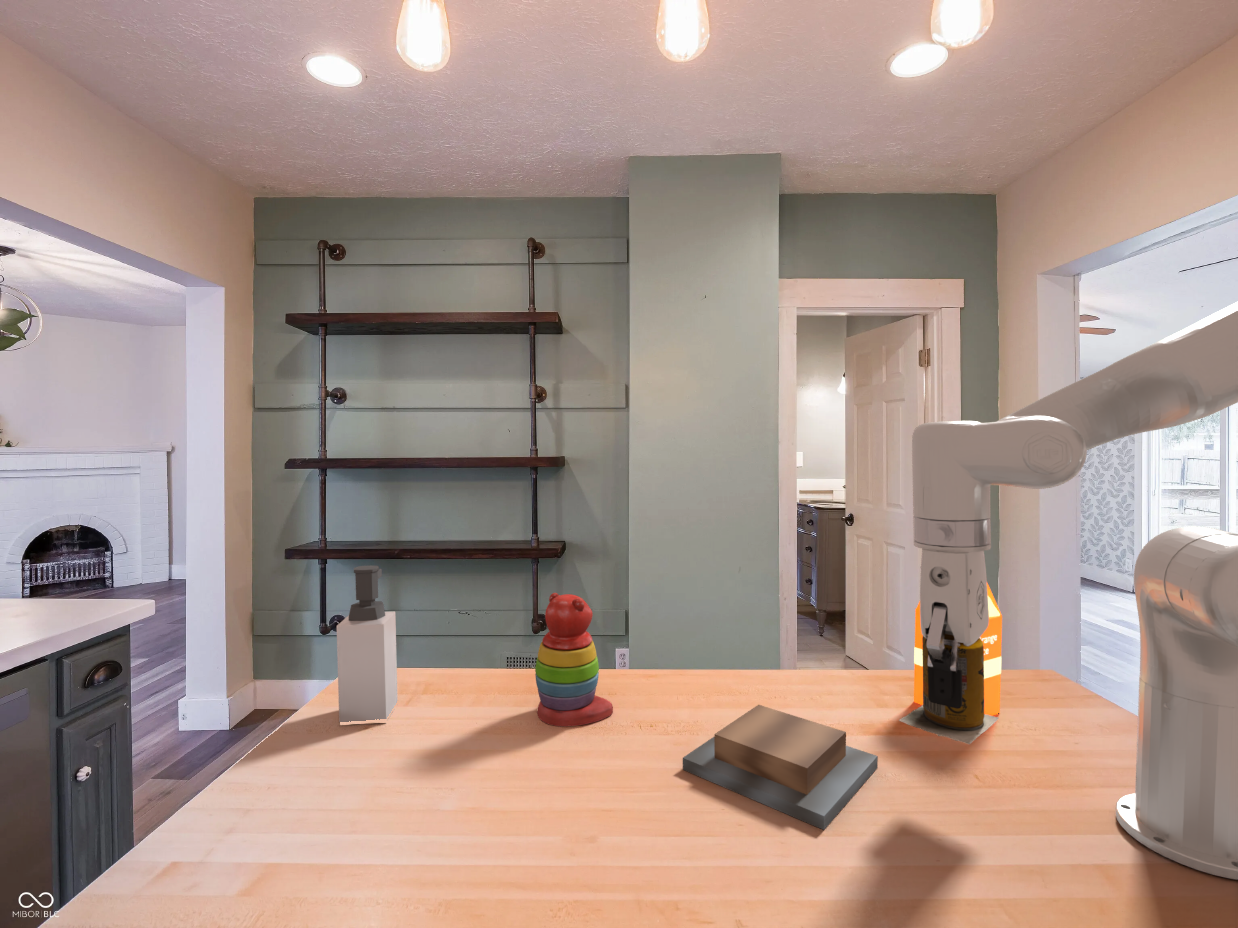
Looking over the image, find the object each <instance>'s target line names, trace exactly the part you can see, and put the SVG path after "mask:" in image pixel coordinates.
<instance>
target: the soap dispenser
mask: <svg viewBox="0 0 1238 928" xmlns="http://www.w3.org/2000/svg"><path fill="white" fill-rule="evenodd" d="M353 573H354V575H355V579H354V580H355V601H358V602H355V603H353V604H351V605H350V608H349V609H350V610H349V613H348V616H346V617H345V618H344V619H343V620H341V622H339V623H338V624H337V625H336V650H337V651H336V654H337V655H336V656H337V659H336V660H337V685H338V689H337V690H338V719H339V721H338V723H339V722H349V721H350V722H351V721H366V720H375V719H376V720H377V719H379V720H380V719H387V717H388V716H389V714H390V713H391V711H392V709H393V708H394V706H395V705H396V703H397V701H399V700H398V668H397V667H398V666H397V663H398V662H397V660H398V659H397V658H398V657H397V626H396V625H397V623H396V622H397V621H396V620H397V619H396V618H397V617H396V615H397V614H396V611H394V610H393V611H385V604H384V603H383V601H381V600H379V601H378V600H376V599H378V598H379V579H380V578H381V577H383V574H382V573H383V571H382V568H380V567H379V565H359V566H356V567H353Z"/></svg>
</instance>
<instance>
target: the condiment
mask: <svg viewBox="0 0 1238 928" xmlns="http://www.w3.org/2000/svg"><path fill="white" fill-rule="evenodd" d="M930 625H931V623H930ZM930 625H929V628H928V630H929V629H930ZM944 639H948V640H954V635H948V634H945V636H944ZM944 646H945V645H944ZM944 649H945V650H948V651H949V653H950V656H951V652H952V647H951V646H945V647H944ZM922 652H923V654H922V655H923V705H920V706H919V707H918V708H916V709H914V710H911V712H909V713H908V714H907V715H905V716H902V718H900V719H899V720H898V721H899V722H901V723H904V724H906V725H908V726H911V727H914V728H916V729H920V730H922V731H925V732H927V733H932V734H934V735H937V737H945V738H948V739H951V740H953V741H957V742H962V743H964V744H967V745H972V743H973V742H974V741H976V740H977V738H978V737H980V736H981V734H983V733H984V732H986V731H987V730H989V728H990V727H991V726H993V725H994V724H995V723H997V721H998V720H999V719H1000V717H998V716H991V715H986V714H984V712H985V711H984V706H985V705H984V703H985V701H984V646H983V641H982V640H981V639H980V638H979V639H978V640H977V641H976V642H975V643H974V644H972V645H971V646H965V645H964V643H961V642H960V654H959V667H958V670H962V706H961V708H959V709H958V708H953V707H949V706H944V705H940V704H936V703H932V702H930V701H929V699H928V649H927V639H926V638H925V637H924V636H923V637H922Z"/></svg>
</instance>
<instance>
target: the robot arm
mask: <svg viewBox="0 0 1238 928" xmlns="http://www.w3.org/2000/svg"><path fill="white" fill-rule="evenodd" d="M1237 403H1238V301H1236V302H1234V303H1232V304H1230V305H1228V306H1227V307H1224V308H1222V309H1220V310H1219V311H1216V312H1214V313H1212V314H1211V315H1210V314H1209V316H1208V315H1207V317H1206V316H1205V318H1202V319H1201V320H1199V321H1197V322H1195V323H1193V324H1191V325H1189V326H1186V327H1185V328H1183V329H1181V330H1178V331H1177V332H1174V333H1172V334H1171V335H1168V336H1166V337H1164V338H1162V339H1160V340H1158V341H1156V342H1154V343H1151V344H1150V345H1148V346H1146V347H1144V348H1142V349H1139V350H1137V351H1135V352H1133V353H1131V354H1129V355H1127V356H1125V357H1123V358H1121V359H1119V360H1117V361H1115V362H1113V363H1112V364H1110V365H1108V366H1106V367H1105V368H1102V369H1100V370H1098V371H1096V372H1094V373H1092V374H1090V375H1088V376H1086V377H1084V378H1081V379H1079V380H1077V381H1075V382H1073V383H1071V384H1069V385H1067V386H1064V387H1062V388H1061V389H1058V390H1057V391H1054V392H1051V393H1050V394H1048V395H1045V396H1043V397H1041V398H1039V399H1038V400H1035V401H1034V402H1032V403H1029V404H1028V405H1026V406H1024V407H1022V408H1019V409H1018V410H1016V411H1014V412H1011V413H1010V414H1008V415H1006V416H1004V417H1002V418H1000V419H998V420H996V421H991V422H980V421H978V420H977V421H975V420H952V421H951V420H950V421H949V420H948V421H945V420H944V421H931V422H925V423H921V424H919V425H918V426H915V429H914V430H913V432H912V435H911V437H912V438H911V452H912V453H911V455H912V457H911V458H912V460H911V461H912V465H911V466H912V469H911V470H912V508H913V509H912V515H913V518H912V519H913V520H912V521H913V522H912V524H913V528H912V529H913V546H914V547H916V548H918V549H921V558H920V559H921V560H920V561H921V562H920V580H919V583H920V584H919V587H920V588H919V601H920V623H921V632H922V635H923V636H924V637H925V638H926V639H927V649H928V699H929V701H930V702H932V703H936V704H940V705H944V706H949V707H953V708H958V709H959V708H961V706H962V670H958V667H959V654H960V642H961V643H964V645H965V646H971V645H972V644H974V643H975V642H976V641H977V640H978V639H979V638H980V636H981V635H982V634H983V633H984V632H985V630H986V629H987V628H988V625H989V610H988V594H987V583H988V581H987V580H988V579H987V567H986V560H985V559H986V558H985V557H986V556H985V551H989V550H991V548H992V540H991V539H992V535H991V532H992V531H991V486H1005V487H1014V488H1021V489H1022V488H1023V489H1030V490H1045V489H1052V488H1055V487H1058V486H1061V485H1063V484H1066V483H1069V481H1070V480H1072V479H1073V478H1075V477H1076V476H1077V475H1078V474H1079V473H1080V471H1081V470H1082V469H1083V467H1084V466H1085V464H1086V460H1087V453H1088V451H1089V450H1091V449H1094V448H1096V447H1098V446H1101V445H1104V444H1107V443H1110V442H1113V441H1116V440H1119V439H1122V438H1125V437H1130V436H1132V435H1133V436H1134V435H1137V434H1143V433H1145V432H1146V433H1147V432H1152V431H1153V432H1154V431H1157V430H1163V429H1168V428H1172V427H1177V426H1181V425H1184V424H1187V423H1191V422H1194V421H1197V420H1202V419H1203V418H1206V417H1209V416H1211V415H1214V414H1216V413H1218V412H1221V411H1222V410H1224V409H1226V408H1229V407H1231V406H1233V405H1235V404H1237ZM1133 583H1134V584H1133V587H1134V594H1135V602H1136V609H1137V614H1138V616H1137V617H1138V623H1139V635H1140V637H1139V639H1140V642H1139V643H1140V644H1139V645H1140V646H1139V647H1140V651H1139V652H1140V653H1139V655H1140V657H1139V676H1138V677H1139V678H1138V701H1137V704H1138V705H1137V707H1138V709H1137V729H1136V730H1137V731H1136V732H1137V733H1136V734H1137V735H1136V764H1135V787H1134V788H1135V790H1134V793H1130V794H1126V795H1123V796H1121V798H1119V799H1118V800H1117V802H1116V803H1115V817H1116V820H1117V821H1118V823H1119V824H1120V826H1121V827H1122V828H1123V829H1124V830H1125V831H1126V832H1127V834H1129V835H1130V836H1131V837H1132V838H1134V839H1135V840H1136V841H1138V842H1139V843H1140V844H1142V845H1143V846H1145V847H1147V848H1148V849H1149V850H1151V851H1153V852H1155V853H1156V854H1159V855H1160V856H1162V857H1165V858H1167V859H1169V860H1171V861H1173V862H1176V863H1178V864H1180V865H1182V866H1186V867H1188V868H1191V869H1193V870H1197V871H1199V872H1203V873H1206V874H1210V875H1213V876H1216V877H1222V878H1225V879H1231V880H1236V881H1238V533H1235V532H1232V531H1231V532H1230V531H1226V530H1221V529H1217V528H1213V527H1205V526H1184V527H1183V526H1182V527H1176V528H1173V529H1168V530H1166V531H1163V532H1161V533H1159V534H1157V535H1155V536H1154V537H1152V538H1151V539H1150V540H1149V541H1147V542H1146V543H1145V545H1144V546H1143V547H1142V549H1141V550H1140V551H1139V554H1138V556H1137V557H1136V561H1135V564H1134V571H1133ZM930 623H931V625H930ZM929 625H930V629H929V630H928V628H929ZM945 634H948V635H954V640H948V639H944V636H945ZM944 645H945V646H951V647H952V652H951V656H950V653H949V651H948V650H945V649H944V647H945V646H944Z"/></svg>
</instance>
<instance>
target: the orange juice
mask: <svg viewBox="0 0 1238 928" xmlns="http://www.w3.org/2000/svg"><path fill="white" fill-rule="evenodd" d="M987 594H988V610H989V625H988V628H987V629H986V630H985V632H984V633H983V634H982V635H981V636H980V639H981V640H982V641H983V646H984V701H985V703H984V705H985V706H984V711H985V712H984V714H986V715H991V716H993V715H995V716H997V715H999V714H998V713H1000V714H1001V684H1002V683H1001V678H1002V677H1001V676H1002V675H1001V674H1002V657H1003V656H1002V638H1003V636H1002V635H1003V615H1002V612H1001V610H1000V608H999V605H998V603H997V601H996V599H995V597H994V595H993V593H992V590H991V588H990V585H989V584H988V582H987ZM914 609H915V611H914V612H915V614H914V616H915V620H914V622H915V623H914V648H913V650H914V651H913V652H914V653H913V664H914V667H913V670H914V672H913V673H914V674H913V678H914V679H913V681H914V682H913V702H914V703H916V704H919V705H920V706H922V705H923V655H922V654H923V652H922V637H923V635H922V632H921V623H920V600H919V601H918V604H917V607H916V608H914ZM996 714H997V715H996Z"/></svg>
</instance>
